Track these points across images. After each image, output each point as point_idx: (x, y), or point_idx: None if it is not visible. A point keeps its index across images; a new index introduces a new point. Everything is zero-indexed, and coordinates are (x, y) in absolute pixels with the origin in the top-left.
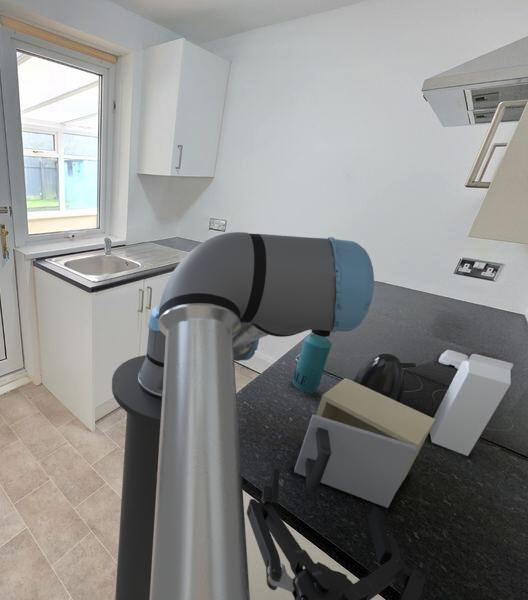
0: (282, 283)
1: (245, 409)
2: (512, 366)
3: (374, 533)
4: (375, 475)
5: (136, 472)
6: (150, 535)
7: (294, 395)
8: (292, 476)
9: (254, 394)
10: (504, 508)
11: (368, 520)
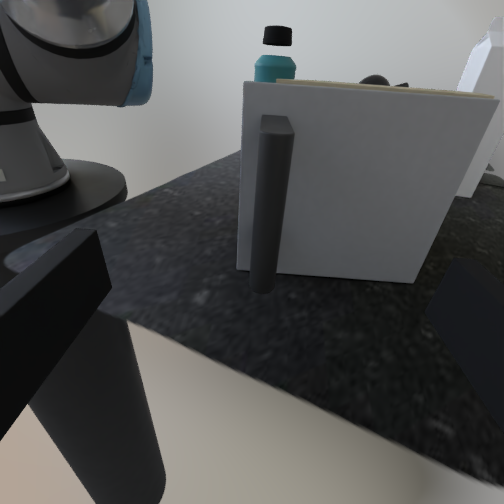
0: None
1: (163, 197)
2: None
3: (479, 359)
4: (395, 216)
5: None
6: (89, 440)
7: None
8: (231, 278)
9: (188, 180)
10: None
11: (427, 315)
